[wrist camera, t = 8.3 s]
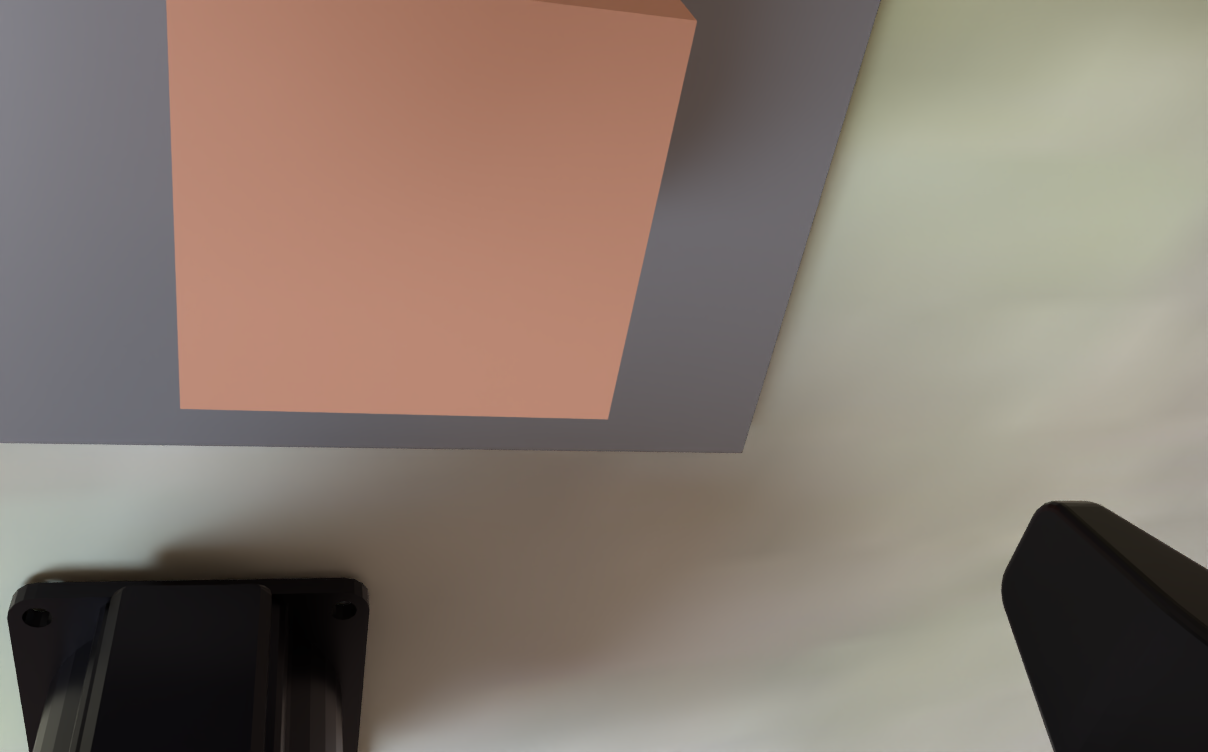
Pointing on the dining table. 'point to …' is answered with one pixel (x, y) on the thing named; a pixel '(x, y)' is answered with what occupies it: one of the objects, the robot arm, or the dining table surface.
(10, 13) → the slate plate
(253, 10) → the terracotta block
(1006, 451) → the dining table surface
